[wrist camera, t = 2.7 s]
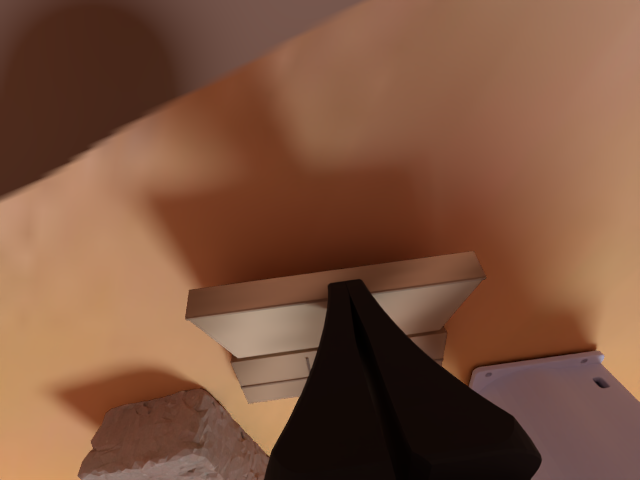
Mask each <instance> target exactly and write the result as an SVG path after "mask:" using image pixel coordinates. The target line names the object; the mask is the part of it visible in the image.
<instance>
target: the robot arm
mask: <svg viewBox="0 0 640 480" xmlns="http://www.w3.org/2000/svg"><path fill="white" fill-rule="evenodd" d="M327 287H328V303H327V311H326V317H325V322H324V327H323V331H322V335H321V339H320V343H319V346H318V350H317V353H316V356H315V359H314V362H313V365H312V368H311V370H310V373H309V376H308V378H307V381H306V383H305V386H304V388H303V390H302V393H301V395H300V397H299V399H298V401H297V403H296V406H295V408H294V410H293V412H292V414H291V416H290V418H289V420H288V422H287V424H286V426H285V428H284V429H283V431H282V433H281V435H280V437H279V438H278V440H277V442H276V444H275V446H274V448H273V449H272V451H271V455H270V458H269V462H268V465H267V469H266V472H265V476H264V480H640V402H639V401H638V400H637V399H636V398H635V397H634V396H633V395H632V394H631V393H630V392H629V391H628V390H627V389H626V388H625V387H624V386H623V385H622V384H621V383H620V382H619V381H618V380H617V379H616V378H615V377H614V376H613V375H612V374H611V373H610V372H609V371H608V370H607V369H606V368H605V367H604V366H603V365H602V364H601V362H602V361H603V359H604V355H603V354H602V353H601V352H600V351H590V352H583V353H576V354H569V355H562V356H555V357H547V358H540V359H533V360H526V361H519V362H512V363H505V364H498V365H490V366H483V367H478V368H476V369H474V370H473V372H472V376H471V380H470V384H469V387H468V386H467V385H465V384H464V383H462V382H461V381H460V380H459V379H457V378H456V377H455V376H453V375H452V374H451V373H449V372H448V371H447V370H446V369H444V368H443V367H442V366H440V365H439V364H438V363H437V362H435V361H434V360H433V359H432V358H431V357H430V356H428V355H427V354H426V353H425V352H424V351H423V350H422V349H421V348H419V347H418V346H417V345H416V344H415V343H414V342H413V341H412V340H411V339H410V338H409V337H408V336H407V335H406V334H405V333H404V332H403V331H402V330H401V329H400V328H399V327H398V326H397V325H396V324H395V322H394V321H393V320H392V319H391V318H390V317H389V316H388V314H387V313H386V312H385V311H384V310H383V308H382V307H381V306H380V305H379V303H378V302H377V301H376V299H375V298H374V297H373V295H372V294H371V293H370V291H369V290H368V288H367V287H366V285H365V284H364V282H363V280H361V279H355V280H348V281H341V282H334V283H330V284H329V285H328V286H327Z"/></svg>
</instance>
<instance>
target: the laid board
mask: <svg viewBox="0 0 640 480" xmlns="http://www.w3.org/2000/svg"><path fill="white" fill-rule="evenodd" d="M407 336H408V337H409V338H410V339H411V340H412V341H413V342H414V343H415V344H416V345H417V346H418V347H419V348H421V349H422V350H423V351H424V352H425V353H426V354H427V355H428V356H430V357H431V358H432V359H433V360H434V361H435V362H437V363H438V364H439V365H440V366H442V361H443V355H444V349H445V343H446V337H447V331H446V329H445V328H444V326H443V327H442V328H441V329H440V330H437V331H430V332H423V333H416V334H408V335H407ZM317 350H318V347H315V348H308V349H301V350H293V351H286V352H279V353H272V354H265V355H257V356H250V357H243V358H237V357H236V356H234V355H233V354H232V359H231V364H232V367H233V369H234V371H235V374H236V376H237V378H238V381H239V383H240V385H241V389H242V390H243V392H244V395H245V397H246V399H247V402H248V404H250V403H257V402H264V401H271V400H278V399H285V398H292V397H299V396H300V395H301V393H302V390H303V388H304V386H305V383H306V381H307V378H308V376H309V373H310V370H311V368H312V365H313V362H314V359H315V356H316V353H317Z"/></svg>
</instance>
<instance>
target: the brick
mask: <svg viewBox="0 0 640 480" xmlns="http://www.w3.org/2000/svg"><path fill="white" fill-rule="evenodd" d="M91 444H92V447H93V450H91V451H90V452H89V453H88V455H87V456H86V457H85V459H84V460H83V461H82V464H81V467H80V470H79V473H78V477H79V478H80V479H81V480H264V476H265V472H266V469H267V465H268V462H269V458H270V457H267V456H266V454H265V452H264V451H263V450H262V449H261V448H260V447H259V445H258V444H257V443H256V442H254V441H253V440H252V438H251V437H250V436H249V435H248V434H247V433H245V432H244V430H243V429H242V428H241V427H240V425H239V424H238V423H236V422H235V421H234V420H233V419H232V417H231V415H230V414H229V413H228V412H227V411H226V410H225V409H224V408H223V407H222V406H221V405H220V404H219V403H218V402H217V401H215V399H214V398H213V397H212V396H211V395H210V394H209V393H208V392H207V391H205V390H203V389H192V390H189V391H180V392H178V393H175V394H172V395H170V396H166V397H164V398H159V399H153V400H150V401H143V402H139V403H131V404H125V405H122V406H120V407H116V408H112V409H111V410H109V411H108V412H107V413H106V414H105V417H104V420H103V423H102V426H101V427H100V428H99V429H98V431H97V432H96V434H95V435H94V437H93V438H92V440H91Z"/></svg>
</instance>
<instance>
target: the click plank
mask: <svg viewBox="0 0 640 480" xmlns="http://www.w3.org/2000/svg"><path fill="white" fill-rule="evenodd" d="M355 279H361V280H363V282H364V284H365V285H366V287H367V288H368V290H369V291H370V293H371V294H372V295H373V297H374V298H375V299H376V301H377V302H378V303H379V305H380V306H381V307H382V308H383V310H384V311H385V312H386V313H387V314H388V316H389V317H390V318H391V319H392V320H393V321H394V322H395V324H396V325H397V326H398V327H399V328H400V329H401V330H402V331H403V332H404V333H405V334H406V335H408V334H416V333H423V332H430V331H437V330H440V329H441V328H442V327H443V325H444V324H445V323H446V322H447V321H448V320H449V318H450V317H451V316H452V315H453V314H454V313H455V311H456V310H457V309H458V308H459V307H460V306H461V304H462V303H463V302H464V301H465V300H466V299H467V297H468V296H469V295H470V294H471V293H472V292H473V290H474V289H475V288H476V287H477V286H478V285H479V283H480V282H481V281H482V280H485V279H486V275H485V273H484V271H483V269H482V267H481V265H480V263H479V261H478V259H477V257H476V254H475V252H474V251H470V252H463V253H455V254H448V255H441V256H433V257H426V258H419V259H412V260H404V261H397V262H390V263H382V264H375V265H368V266H360V267H353V268H346V269H338V270H331V271H324V272H317V273H309V274H302V275H295V276H287V277H280V278H273V279H265V280H258V281H251V282H243V283H236V284H229V285H221V286H214V287H207V288H200V289H192V290H189V295H188V302H187V309H186V316H185V319H186V320H189V321H191V322H192V323H193V324H195V325H196V326H197V327H198V328H200V329H201V330H202V331H204V332H205V333H206V334H207V335H209V336H210V337H211V338H213V339H214V340H215V341H216V342H218V343H219V344H220V345H222V346H223V347H224V348H225V349H227V350H228V351H229V352H231V353H232V354H233V355H234V356H236V357H237V358H243V357H250V356H257V355H265V354H272V353H279V352H286V351H293V350H301V349H308V348H315V347H318V346H319V343H320V339H321V335H322V331H323V327H324V322H325V317H326V311H327V303H328V287H327V286H328V285H329V284H330V283H334V282H341V281H348V280H355Z"/></svg>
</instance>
